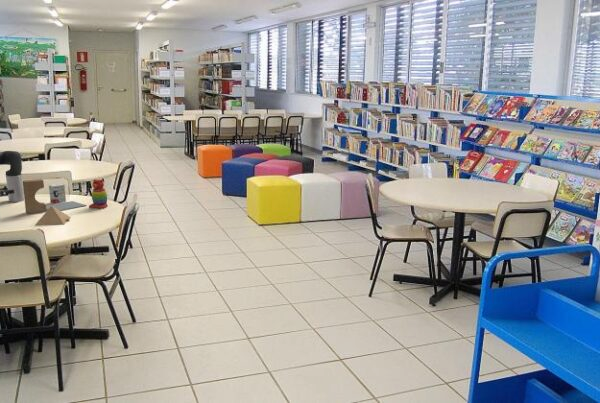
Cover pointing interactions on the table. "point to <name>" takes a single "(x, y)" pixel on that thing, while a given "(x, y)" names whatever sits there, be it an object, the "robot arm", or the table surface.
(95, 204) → the stacking bear
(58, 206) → the mat
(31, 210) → the decorative block
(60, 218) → the model pyramid
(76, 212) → the table surface
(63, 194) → the ink box
